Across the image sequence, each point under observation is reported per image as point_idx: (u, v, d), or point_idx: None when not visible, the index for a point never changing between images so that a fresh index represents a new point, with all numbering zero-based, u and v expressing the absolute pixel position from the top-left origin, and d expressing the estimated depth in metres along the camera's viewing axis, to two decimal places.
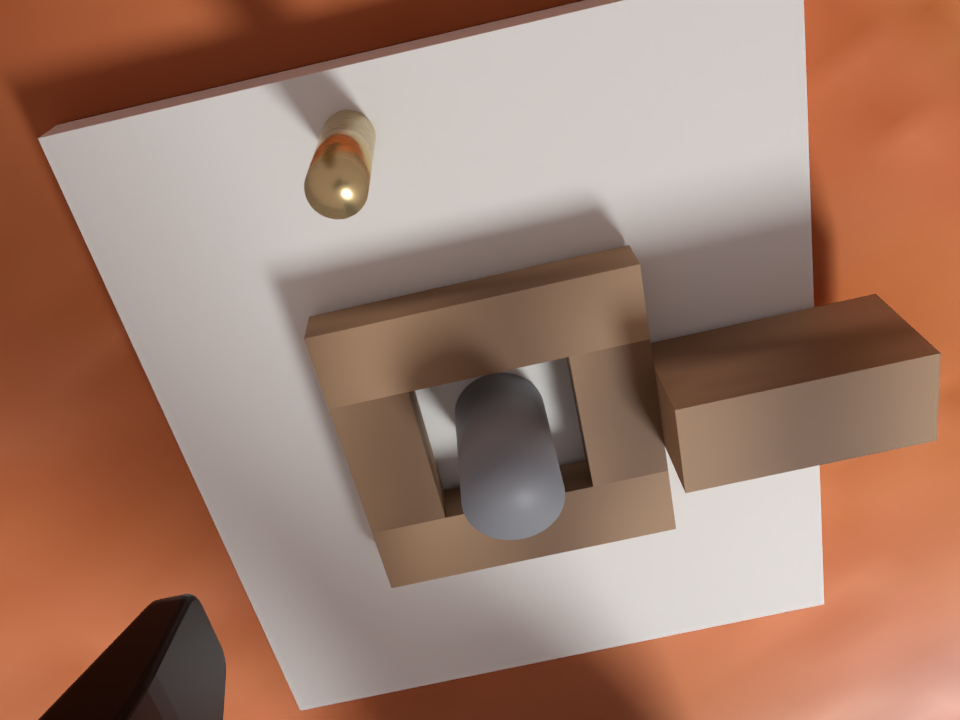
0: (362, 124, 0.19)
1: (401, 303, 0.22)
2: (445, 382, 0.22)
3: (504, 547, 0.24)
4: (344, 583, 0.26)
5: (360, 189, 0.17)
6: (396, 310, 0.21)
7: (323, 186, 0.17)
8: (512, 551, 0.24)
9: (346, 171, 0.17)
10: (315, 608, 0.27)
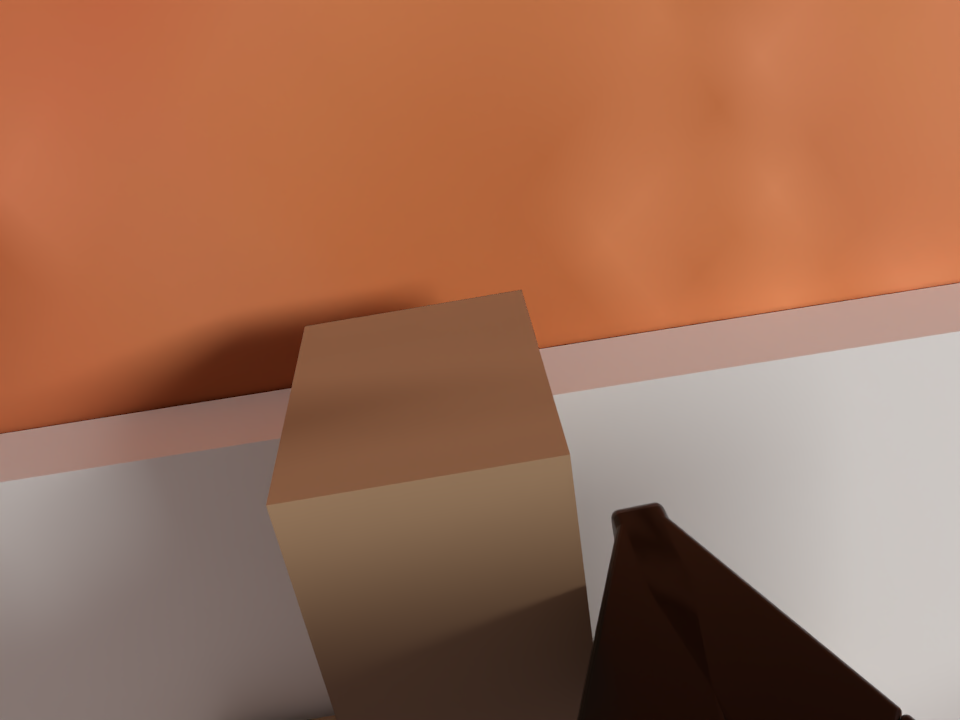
0: None
1: None
2: None
3: None
4: None
5: None
6: None
7: None
8: None
9: None
10: None
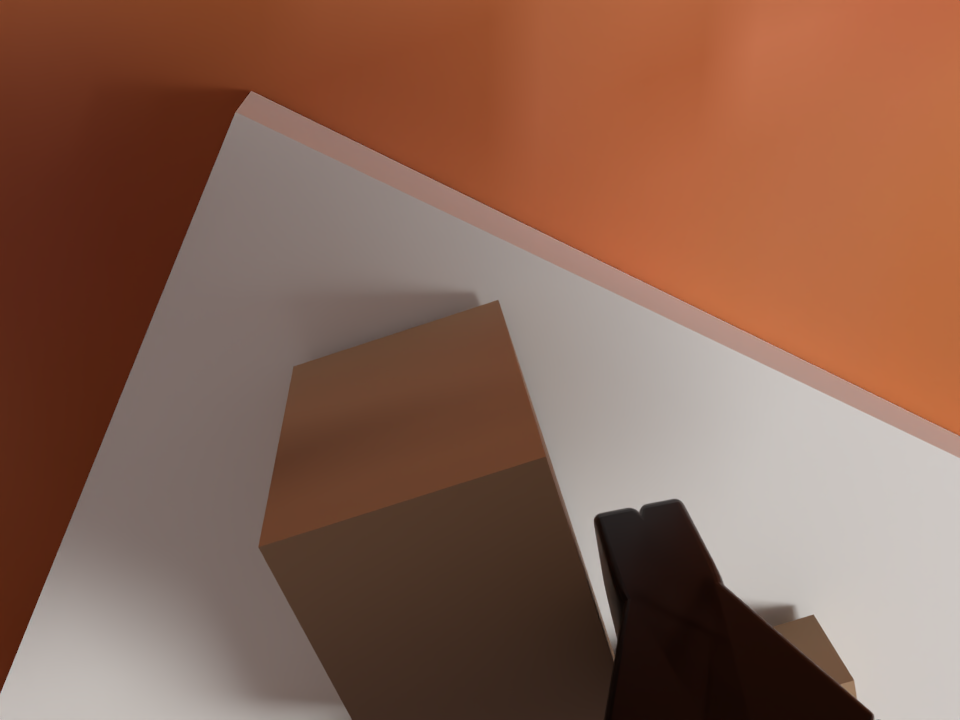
0: None
1: None
2: None
3: None
4: None
5: None
6: None
7: None
8: None
9: None
10: None
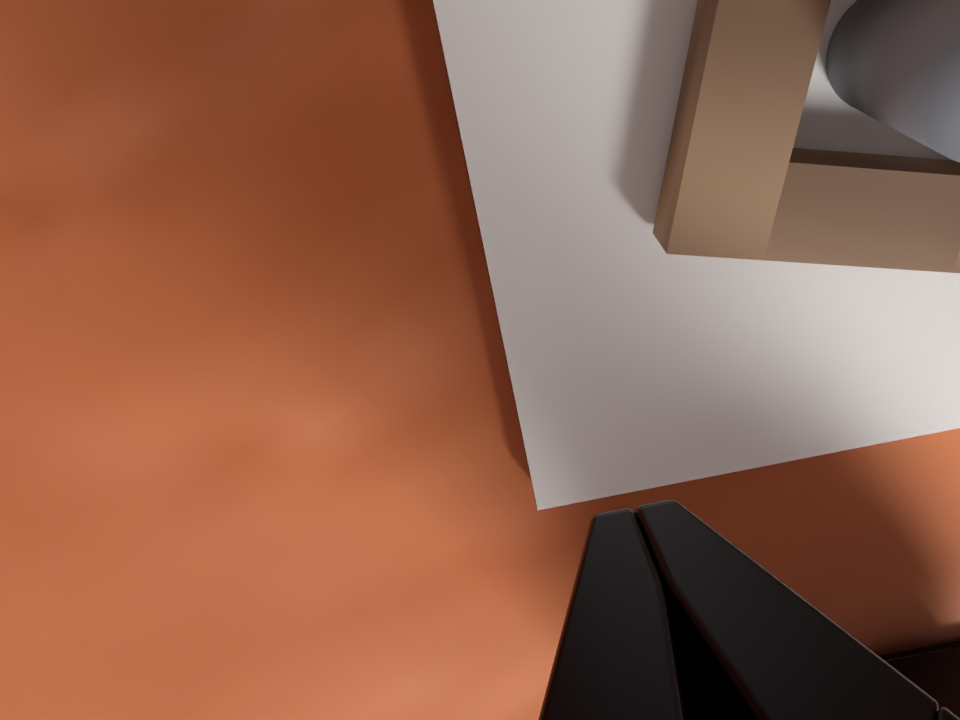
0: None
1: (680, 126, 0.17)
2: (801, 112, 0.17)
3: None
4: (628, 318, 0.20)
5: None
6: (683, 136, 0.17)
7: None
8: None
9: None
10: (584, 355, 0.20)
